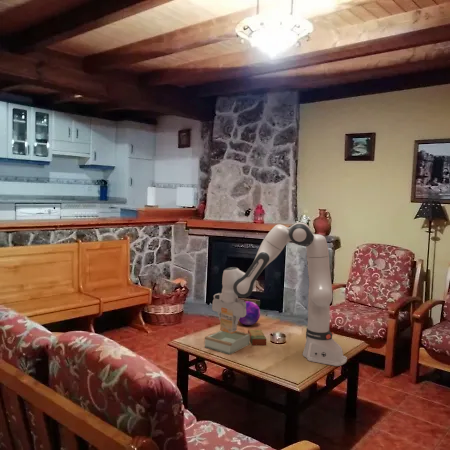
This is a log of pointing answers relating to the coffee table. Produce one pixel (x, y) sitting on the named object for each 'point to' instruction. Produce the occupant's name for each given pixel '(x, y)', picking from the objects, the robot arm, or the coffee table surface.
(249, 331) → the carton
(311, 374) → the coffee table surface
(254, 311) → the decorative orb
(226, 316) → the supplement box
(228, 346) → the crate
